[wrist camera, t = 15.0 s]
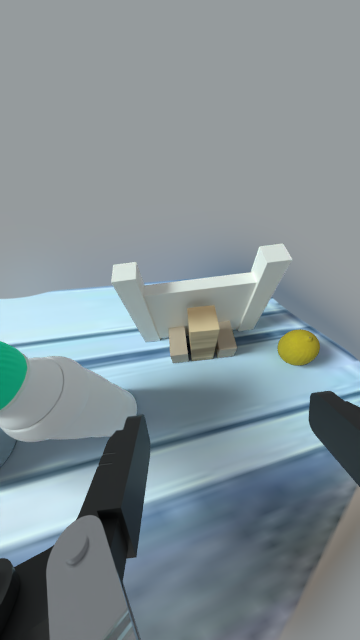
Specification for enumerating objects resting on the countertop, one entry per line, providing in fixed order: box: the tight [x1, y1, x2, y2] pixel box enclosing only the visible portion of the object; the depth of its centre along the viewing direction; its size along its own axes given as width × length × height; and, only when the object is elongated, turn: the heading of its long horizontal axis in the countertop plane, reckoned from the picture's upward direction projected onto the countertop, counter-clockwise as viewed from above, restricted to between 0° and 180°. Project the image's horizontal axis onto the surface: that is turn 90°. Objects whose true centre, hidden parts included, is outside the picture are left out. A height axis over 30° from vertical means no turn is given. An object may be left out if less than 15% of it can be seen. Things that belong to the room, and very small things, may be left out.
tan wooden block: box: [187, 305, 220, 361], centre depth 31 cm, size 5×4×12 cm
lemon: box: [278, 330, 320, 365], centre depth 31 cm, size 6×6×8 cm
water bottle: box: [0, 341, 137, 442], centre depth 21 cm, size 7×7×25 cm
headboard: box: [111, 244, 292, 363], centre depth 30 cm, size 8×22×18 cm, turn 96°
